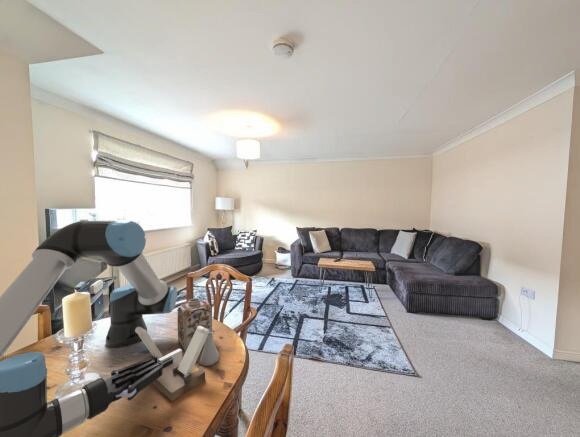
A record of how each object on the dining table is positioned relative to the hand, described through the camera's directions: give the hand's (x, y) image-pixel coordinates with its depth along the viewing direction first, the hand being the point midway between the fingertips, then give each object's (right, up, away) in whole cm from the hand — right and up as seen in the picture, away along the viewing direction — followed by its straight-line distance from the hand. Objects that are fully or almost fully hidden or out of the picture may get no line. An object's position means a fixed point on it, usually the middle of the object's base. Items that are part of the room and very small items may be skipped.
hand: (180, 353), depth 73 cm
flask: (+5, -10, +12) cm, 17 cm away
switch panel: (-6, -10, +5) cm, 13 cm away
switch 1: (-12, -8, +9) cm, 17 cm away
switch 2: (0, -8, +1) cm, 8 cm away
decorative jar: (-6, -10, +26) cm, 29 cm away
